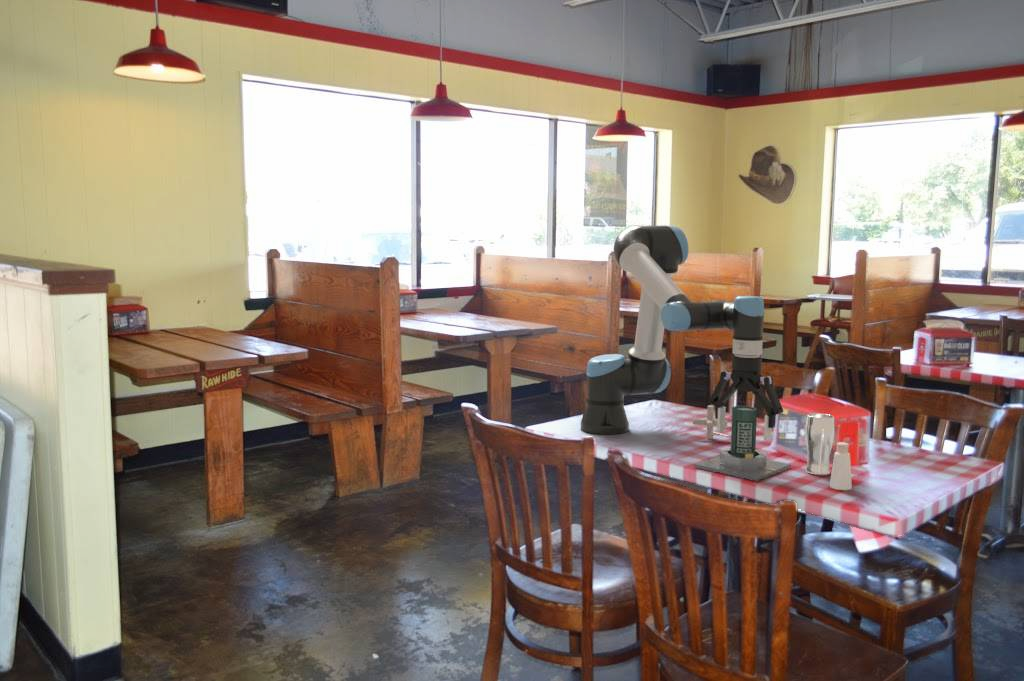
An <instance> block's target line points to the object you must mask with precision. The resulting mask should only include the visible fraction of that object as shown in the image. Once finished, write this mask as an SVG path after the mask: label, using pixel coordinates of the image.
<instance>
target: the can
mask: <svg viewBox="0 0 1024 681" xmlns="http://www.w3.org/2000/svg"><path fill="white" fill-rule="evenodd" d="M757 416H758V409H757V407H754V406H748V405H737V406H732V407H731V431H730V432H731V433H730V434H731V435H730V448H731V455H734V456H739V457H744V452H752V453H753V457H755V450H756V447H757V446H756V443H757V442H756V441H757Z"/></svg>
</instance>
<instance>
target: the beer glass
mask: <svg viewBox="0 0 1024 681" xmlns="http://www.w3.org/2000/svg"><path fill="white" fill-rule="evenodd" d="M804 436H805V444H806V452H807V453H806V454H807V461H806V465H805V473H807V474H809V473H810V474H809V475H813V474H814V476H829V475H830V474H831V468H830V455H831V451H832V448H833V443H834V437H835V416H834V415H832V414H827V413H822V412H821V413H820V412H818V413H817V412H812V413H808V414H807V415H806V423H805V434H804Z"/></svg>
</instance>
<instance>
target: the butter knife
mask: <svg viewBox="0 0 1024 681" xmlns="http://www.w3.org/2000/svg"><path fill="white" fill-rule="evenodd" d="M703 429H704V430H706V431H705V432H707V428H706V429H705V428H703ZM704 430H703V431H704ZM714 433H716V434H715V435H717V434H720V435H719V436H721V435H724V436H723V437H725V436H730V435H729V434H726V433H722V432H717V431H714V430H713V434H714Z"/></svg>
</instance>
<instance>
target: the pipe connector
mask: <svg viewBox="0 0 1024 681" xmlns="http://www.w3.org/2000/svg"><path fill="white" fill-rule="evenodd" d="M714 408H715V406H714V405H712V404H710V405H707V412H706V413H707V415H706V416H707V418H693V419H692V425H695V426H696V425H699V426H706V430H707V431H706V439H707V440H713V438H714V437H713V436H714V433H713V431H714V427H715V426H716V427H717V423H718V419H714V415H715V414H714V413H715V412H714V411H715V410H714ZM725 427H728V420H726V419H725Z"/></svg>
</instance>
